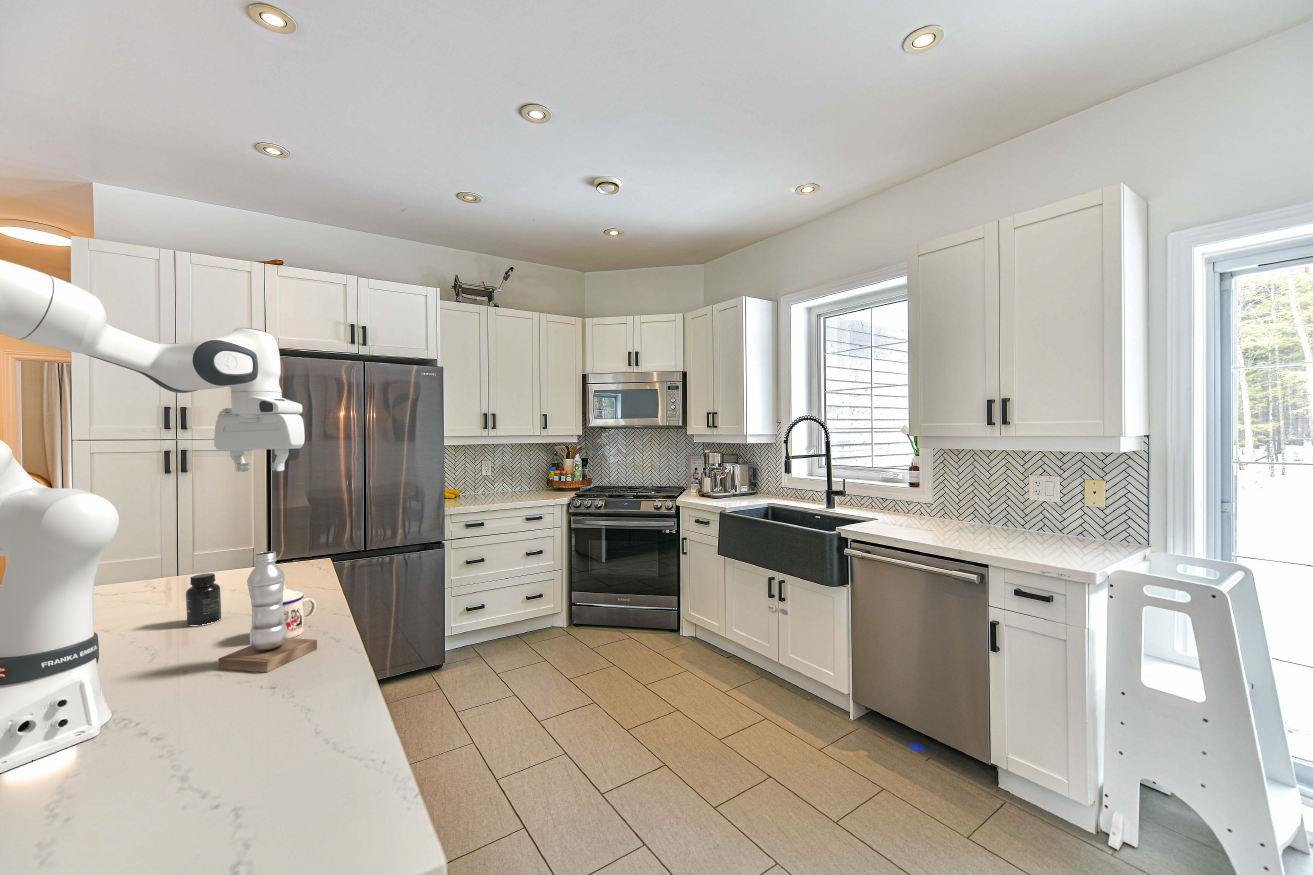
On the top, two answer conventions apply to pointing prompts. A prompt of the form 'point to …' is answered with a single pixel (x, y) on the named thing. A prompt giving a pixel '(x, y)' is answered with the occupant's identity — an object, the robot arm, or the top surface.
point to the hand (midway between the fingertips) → (260, 471)
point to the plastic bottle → (267, 603)
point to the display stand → (267, 656)
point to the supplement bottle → (203, 600)
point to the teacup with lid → (295, 611)
